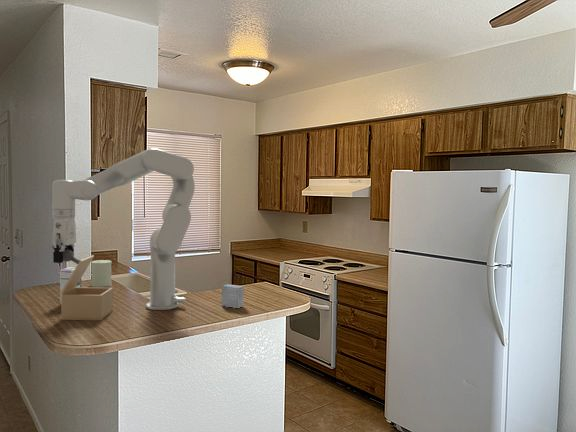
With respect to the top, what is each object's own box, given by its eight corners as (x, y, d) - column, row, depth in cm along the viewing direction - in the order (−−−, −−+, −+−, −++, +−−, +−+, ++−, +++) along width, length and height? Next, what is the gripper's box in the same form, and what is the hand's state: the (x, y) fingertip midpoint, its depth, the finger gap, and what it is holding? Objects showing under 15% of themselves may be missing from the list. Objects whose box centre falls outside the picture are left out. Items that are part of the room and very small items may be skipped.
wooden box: (112, 310, 183) (112, 287, 183) (101, 320, 170) (101, 295, 170) (75, 310, 182) (75, 287, 182) (61, 319, 169) (61, 294, 169)
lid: (94, 255, 181) (73, 243, 181) (81, 261, 168) (58, 247, 168) (75, 287, 182) (54, 274, 181) (61, 294, 169) (38, 281, 168)
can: (87, 286, 225) (87, 261, 224) (98, 282, 234) (98, 258, 233) (105, 287, 223) (105, 262, 222) (115, 284, 232) (115, 259, 231)
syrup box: (72, 306, 188) (72, 269, 188) (59, 304, 190) (59, 268, 189) (81, 302, 194) (81, 267, 193) (69, 301, 195) (69, 266, 194)
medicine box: (243, 307, 194) (244, 286, 194) (238, 309, 190) (238, 288, 190) (227, 304, 198) (227, 284, 197) (221, 306, 194) (221, 285, 193)
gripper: (64, 215, 165) (64, 264, 166) (83, 212, 182) (83, 257, 183) (42, 215, 165) (42, 264, 166) (63, 212, 182) (63, 256, 183)
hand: (63, 260), depth 174 cm, fingers open, 9 cm apart
